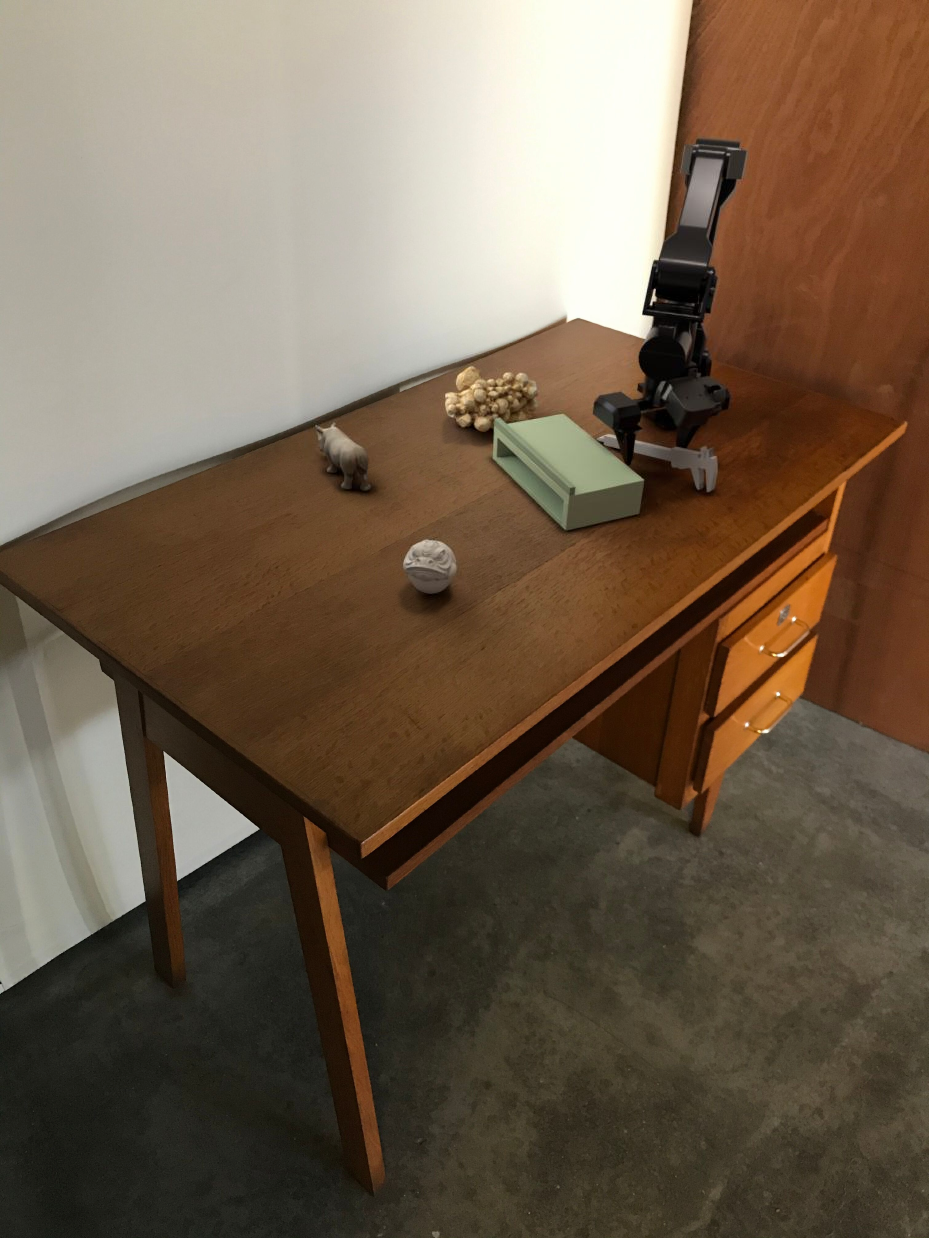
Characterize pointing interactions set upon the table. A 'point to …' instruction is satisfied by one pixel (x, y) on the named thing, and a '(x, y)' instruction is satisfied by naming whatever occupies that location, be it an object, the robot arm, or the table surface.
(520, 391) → the mineral formation
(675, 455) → the caliper
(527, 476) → the desk shelf
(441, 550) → the frog figurine
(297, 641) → the table surface
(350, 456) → the rhino figurine
